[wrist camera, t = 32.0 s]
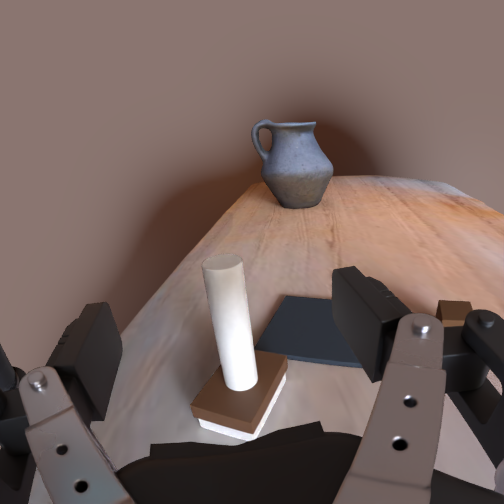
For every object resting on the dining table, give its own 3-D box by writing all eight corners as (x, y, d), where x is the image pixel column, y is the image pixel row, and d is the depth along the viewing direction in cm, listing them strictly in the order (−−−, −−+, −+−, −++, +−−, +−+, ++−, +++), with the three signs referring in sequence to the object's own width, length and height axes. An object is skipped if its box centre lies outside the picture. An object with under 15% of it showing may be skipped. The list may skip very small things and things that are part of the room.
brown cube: (434, 350, 30) (442, 319, 28) (432, 329, 33) (438, 299, 32) (467, 351, 28) (476, 321, 27) (462, 330, 32) (470, 301, 30)
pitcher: (343, 210, 82) (337, 114, 73) (259, 218, 83) (249, 120, 74) (326, 194, 101) (320, 116, 92) (258, 200, 102) (249, 121, 93)
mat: (253, 353, 34) (252, 349, 34) (286, 299, 44) (285, 295, 44) (403, 371, 28) (404, 367, 28) (403, 308, 38) (404, 304, 38)
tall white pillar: (255, 445, 23) (229, 295, 18) (197, 428, 25) (153, 285, 20) (288, 379, 30) (279, 241, 25) (238, 369, 32) (216, 238, 27)
